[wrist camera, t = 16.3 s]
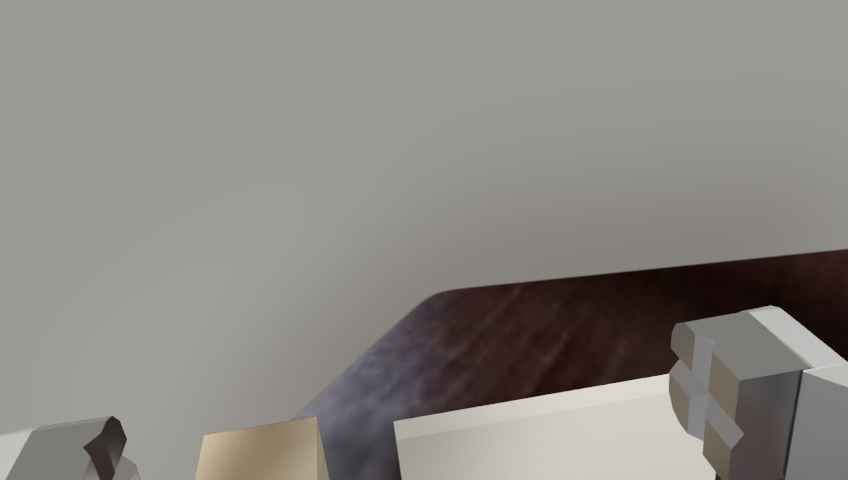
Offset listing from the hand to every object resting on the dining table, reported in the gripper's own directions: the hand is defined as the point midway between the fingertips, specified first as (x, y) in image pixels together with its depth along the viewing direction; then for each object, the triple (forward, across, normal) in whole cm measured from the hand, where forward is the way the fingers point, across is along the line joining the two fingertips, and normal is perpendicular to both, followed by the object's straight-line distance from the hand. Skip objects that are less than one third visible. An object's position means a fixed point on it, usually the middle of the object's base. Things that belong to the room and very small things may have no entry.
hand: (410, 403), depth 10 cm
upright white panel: (+21, -9, +28) cm, 36 cm away
